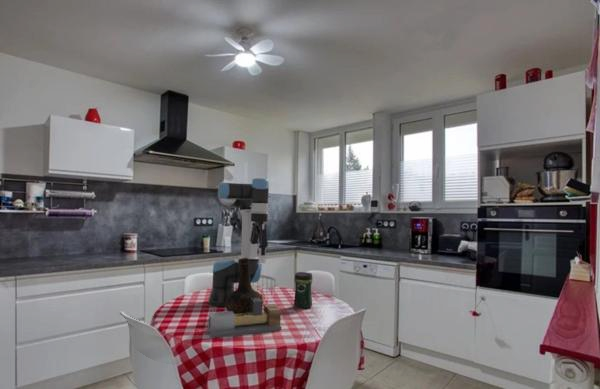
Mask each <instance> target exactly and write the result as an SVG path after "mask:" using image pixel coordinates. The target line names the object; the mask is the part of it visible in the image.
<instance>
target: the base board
mask: <svg viewBox="0 0 600 389" xmlns="http://www.w3.org/2000/svg"><path fill="white" fill-rule="evenodd" d="M208 326H209V324H207V326H206V327H207V328H208V329H207V330H208V333H210V334H209V336H210V339H216V338H215V337H219V338H225V336H227V337H235V336H242V335H250V334H252V335H253V334H261V333H269V332H276V331H282V325H280V326H272V327H269V326H268V324H267V323H256V324H247V325H238V326H235V329H233V330H224V331H215V332H210V330H209V327H208Z"/></svg>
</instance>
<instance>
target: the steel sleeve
mask: <svg viewBox="0 0 600 389" xmlns="http://www.w3.org/2000/svg"><path fill="white" fill-rule="evenodd" d="M208 325H209V326H208ZM208 325H207V326H208V327H209V330H210V332H215V331H224V330H233V329H235V314H234V313H233V311H228V310H226V311H217V312H208Z"/></svg>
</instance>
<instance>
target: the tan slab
mask: <svg viewBox="0 0 600 389" xmlns="http://www.w3.org/2000/svg"><path fill="white" fill-rule="evenodd" d="M263 307H264V300H263V301H262V300H261V299H260V298H250V313H240V314H235V326H238V325H247V324H256V323H266V322H268V312H267V311H264V310H263Z"/></svg>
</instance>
